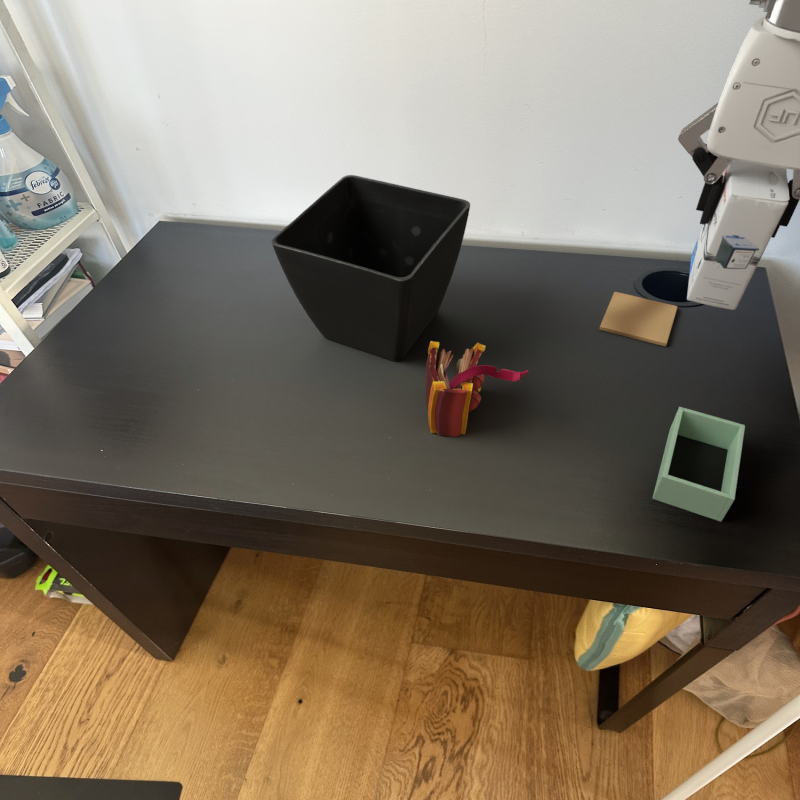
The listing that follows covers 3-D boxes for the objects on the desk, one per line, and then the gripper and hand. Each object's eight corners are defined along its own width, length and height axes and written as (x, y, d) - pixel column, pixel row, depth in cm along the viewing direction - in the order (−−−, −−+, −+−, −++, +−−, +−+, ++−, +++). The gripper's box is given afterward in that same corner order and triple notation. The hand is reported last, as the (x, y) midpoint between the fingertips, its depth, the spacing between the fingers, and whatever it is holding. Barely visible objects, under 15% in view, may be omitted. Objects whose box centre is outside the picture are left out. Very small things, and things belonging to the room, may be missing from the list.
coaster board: (676, 309, 90) (677, 306, 90) (665, 346, 85) (666, 343, 84) (613, 294, 93) (614, 291, 93) (599, 329, 88) (600, 326, 87)
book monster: (427, 380, 81) (519, 398, 79) (411, 432, 75) (510, 453, 74) (431, 317, 73) (534, 335, 72) (414, 370, 67) (525, 391, 66)
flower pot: (410, 387, 81) (407, 278, 69) (289, 346, 87) (266, 240, 75) (467, 305, 92) (473, 200, 80) (356, 275, 99) (346, 173, 87)
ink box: (690, 256, 68) (727, 151, 60) (740, 264, 67) (785, 158, 58) (685, 302, 63) (726, 193, 54) (740, 312, 61) (790, 202, 53)
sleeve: (732, 448, 72) (745, 425, 69) (721, 522, 65) (734, 499, 62) (669, 429, 74) (679, 406, 72) (652, 498, 68) (662, 476, 65)
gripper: (697, 10, 47) (638, 225, 60) (965, 34, 42) (837, 264, 55) (709, -14, 52) (652, 190, 65) (952, 4, 47) (837, 222, 60)
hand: (738, 222), depth 60 cm, fingers closed on ink box, 5 cm apart
